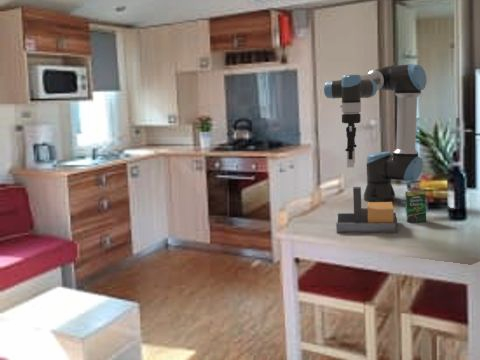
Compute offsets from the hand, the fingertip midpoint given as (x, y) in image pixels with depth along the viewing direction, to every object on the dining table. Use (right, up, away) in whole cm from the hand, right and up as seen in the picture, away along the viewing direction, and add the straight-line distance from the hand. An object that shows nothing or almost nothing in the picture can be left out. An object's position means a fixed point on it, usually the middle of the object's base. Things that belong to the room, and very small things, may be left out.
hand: (351, 165), depth 232 cm
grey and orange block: (+9, -25, +1) cm, 26 cm away
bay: (+7, -26, +2) cm, 27 cm away
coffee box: (+28, -24, +5) cm, 37 cm away
